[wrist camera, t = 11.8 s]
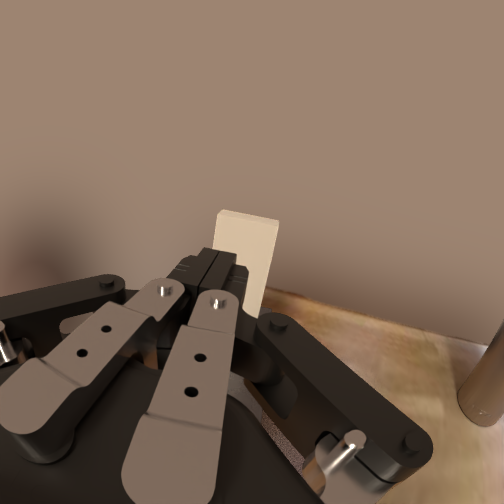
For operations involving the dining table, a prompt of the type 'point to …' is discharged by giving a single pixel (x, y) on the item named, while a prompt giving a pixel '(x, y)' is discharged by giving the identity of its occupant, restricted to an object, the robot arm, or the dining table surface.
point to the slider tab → (248, 250)
